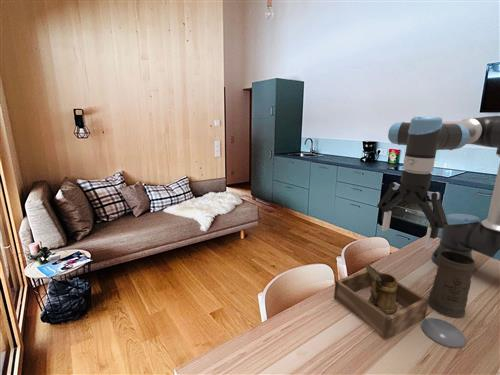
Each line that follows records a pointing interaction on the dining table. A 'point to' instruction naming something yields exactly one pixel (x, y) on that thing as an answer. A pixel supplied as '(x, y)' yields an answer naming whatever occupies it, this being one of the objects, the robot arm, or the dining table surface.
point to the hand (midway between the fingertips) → (405, 238)
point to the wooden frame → (373, 315)
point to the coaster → (443, 333)
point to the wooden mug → (383, 291)
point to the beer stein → (451, 283)
